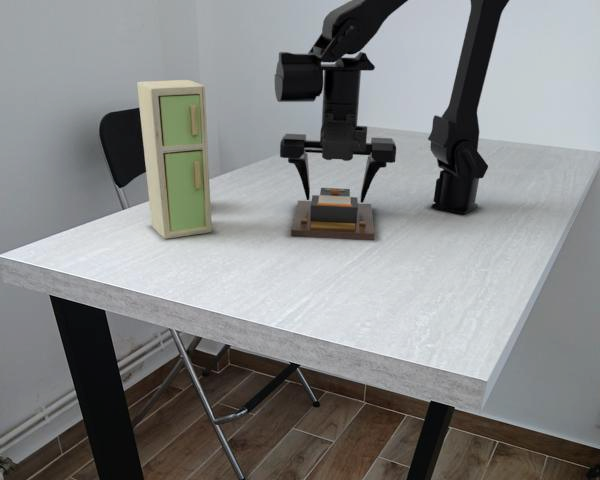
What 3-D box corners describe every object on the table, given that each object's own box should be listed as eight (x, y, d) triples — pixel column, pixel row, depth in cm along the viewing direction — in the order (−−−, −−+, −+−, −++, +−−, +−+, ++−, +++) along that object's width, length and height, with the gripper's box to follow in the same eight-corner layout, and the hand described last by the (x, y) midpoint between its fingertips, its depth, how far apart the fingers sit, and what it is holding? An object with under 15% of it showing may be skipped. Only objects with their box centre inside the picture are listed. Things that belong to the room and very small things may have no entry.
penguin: (356, 223, 103) (358, 203, 101) (310, 220, 103) (310, 201, 101) (356, 203, 112) (357, 185, 110) (313, 201, 112) (313, 183, 111)
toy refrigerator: (164, 241, 97) (151, 88, 85) (150, 227, 102) (136, 81, 91) (214, 234, 100) (207, 86, 89) (197, 221, 106) (189, 79, 94)
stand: (373, 240, 100) (374, 229, 99) (290, 236, 101) (291, 225, 100) (370, 209, 114) (371, 200, 113) (297, 206, 114) (298, 196, 114)
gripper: (277, 107, 95) (276, 212, 104) (403, 112, 95) (392, 217, 103) (283, 96, 105) (282, 193, 113) (398, 101, 104) (388, 198, 112)
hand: (334, 200), depth 110 cm, fingers open, 9 cm apart
